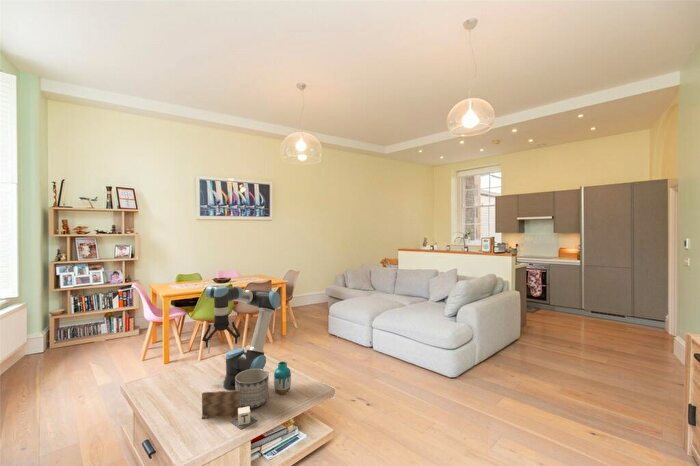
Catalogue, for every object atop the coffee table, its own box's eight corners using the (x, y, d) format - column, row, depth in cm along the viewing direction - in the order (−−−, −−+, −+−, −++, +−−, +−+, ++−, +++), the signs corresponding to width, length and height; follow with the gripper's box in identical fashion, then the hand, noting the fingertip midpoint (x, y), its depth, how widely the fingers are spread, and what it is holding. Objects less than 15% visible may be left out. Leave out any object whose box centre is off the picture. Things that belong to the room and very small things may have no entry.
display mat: (230, 422, 177) (230, 421, 177) (246, 414, 185) (246, 413, 185) (241, 429, 171) (241, 428, 171) (257, 420, 179) (257, 420, 179)
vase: (287, 397, 203) (287, 367, 202) (271, 396, 205) (271, 365, 204) (293, 389, 213) (293, 360, 212) (278, 387, 215) (278, 359, 215)
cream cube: (238, 419, 180) (238, 408, 180) (249, 416, 182) (249, 406, 182) (238, 425, 174) (238, 414, 174) (250, 423, 176) (250, 412, 176)
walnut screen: (200, 418, 181) (200, 395, 180) (204, 412, 187) (204, 390, 186) (238, 416, 183) (238, 393, 183) (240, 410, 189) (240, 388, 189)
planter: (250, 415, 184) (250, 386, 184) (228, 405, 194) (228, 377, 194) (275, 399, 200) (275, 373, 200) (253, 391, 210) (253, 366, 210)
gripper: (196, 318, 179) (197, 356, 180) (244, 313, 188) (244, 350, 189) (197, 314, 186) (198, 351, 187) (243, 310, 195) (244, 345, 196)
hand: (221, 350), depth 188 cm, fingers open, 13 cm apart
